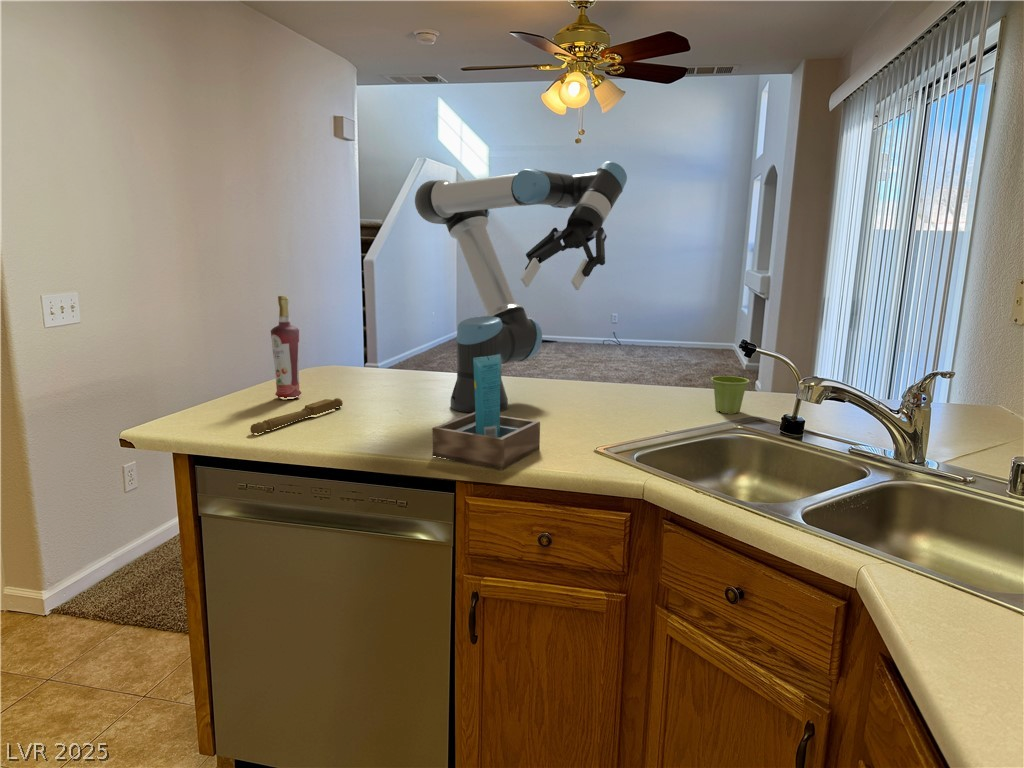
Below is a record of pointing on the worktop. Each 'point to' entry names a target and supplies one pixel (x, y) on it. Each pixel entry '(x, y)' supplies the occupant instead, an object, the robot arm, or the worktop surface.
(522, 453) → the crate
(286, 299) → the liquor
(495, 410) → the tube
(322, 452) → the worktop surface
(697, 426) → the worktop surface
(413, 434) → the worktop surface
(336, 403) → the tap handle
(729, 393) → the plant pot
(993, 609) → the worktop surface
